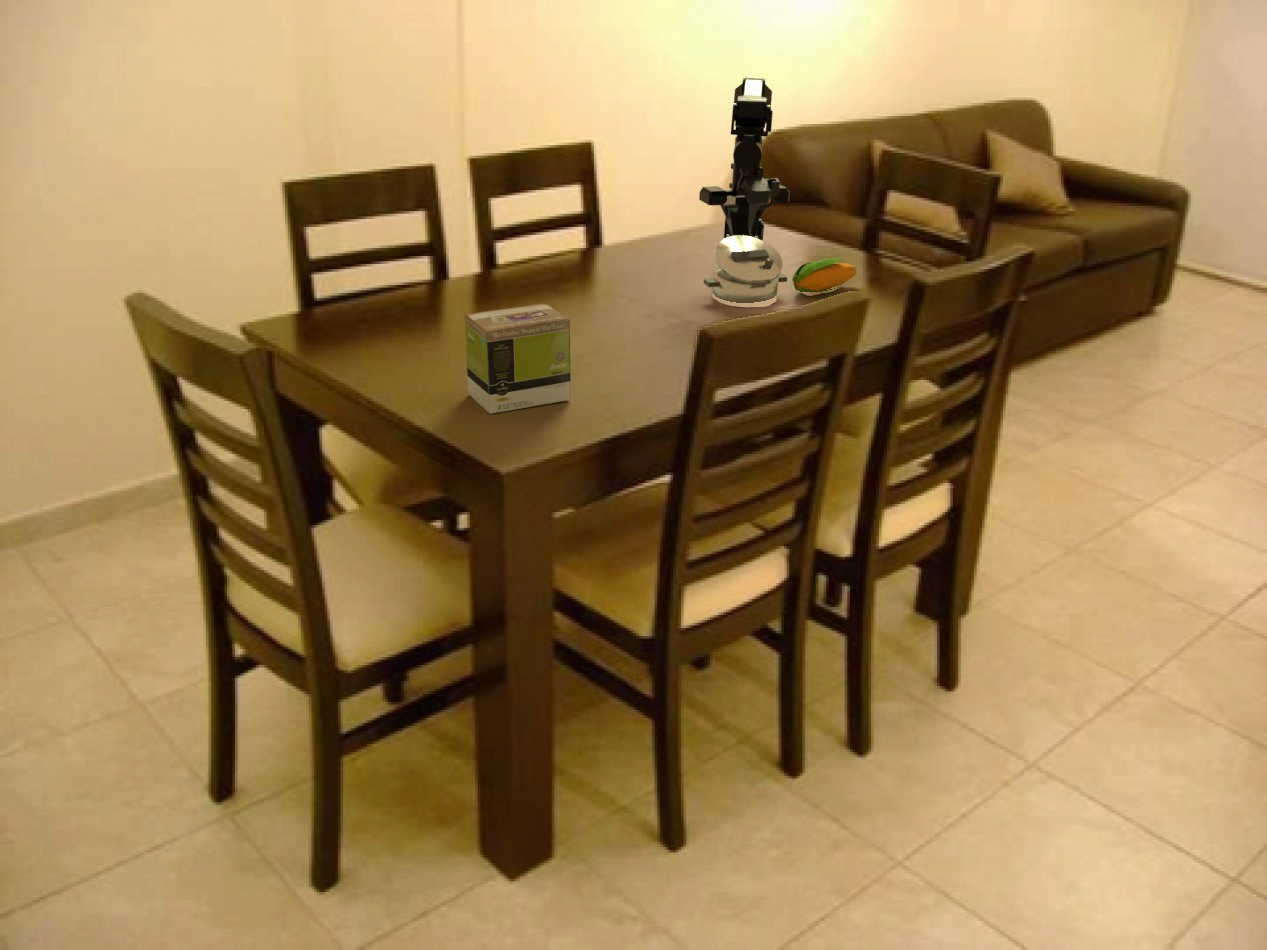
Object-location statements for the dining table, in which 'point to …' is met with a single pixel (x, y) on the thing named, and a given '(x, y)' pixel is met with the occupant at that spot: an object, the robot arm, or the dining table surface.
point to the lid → (748, 259)
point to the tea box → (518, 357)
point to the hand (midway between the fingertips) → (741, 234)
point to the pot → (742, 288)
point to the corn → (822, 275)
